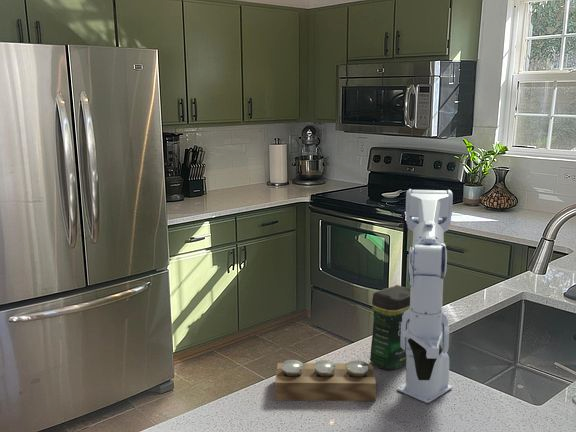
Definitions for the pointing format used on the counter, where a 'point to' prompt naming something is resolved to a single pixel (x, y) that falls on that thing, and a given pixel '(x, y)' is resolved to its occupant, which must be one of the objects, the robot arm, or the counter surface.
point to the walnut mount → (325, 385)
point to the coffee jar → (389, 327)
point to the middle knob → (324, 368)
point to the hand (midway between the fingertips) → (423, 378)
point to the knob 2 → (357, 368)
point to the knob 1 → (292, 368)
